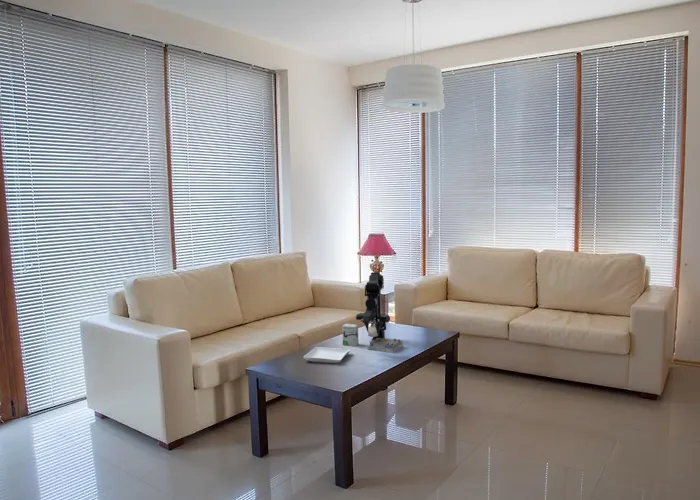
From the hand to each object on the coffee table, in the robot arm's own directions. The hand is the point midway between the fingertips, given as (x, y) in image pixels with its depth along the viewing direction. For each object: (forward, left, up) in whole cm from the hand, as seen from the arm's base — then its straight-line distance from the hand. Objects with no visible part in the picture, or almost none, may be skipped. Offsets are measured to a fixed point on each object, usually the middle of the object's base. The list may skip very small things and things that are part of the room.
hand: (373, 332), depth 301 cm
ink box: (-21, +11, -12) cm, 26 cm away
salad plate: (-19, -18, -12) cm, 29 cm away
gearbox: (+1, +13, -12) cm, 17 cm away
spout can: (0, 0, -2) cm, 2 cm away
